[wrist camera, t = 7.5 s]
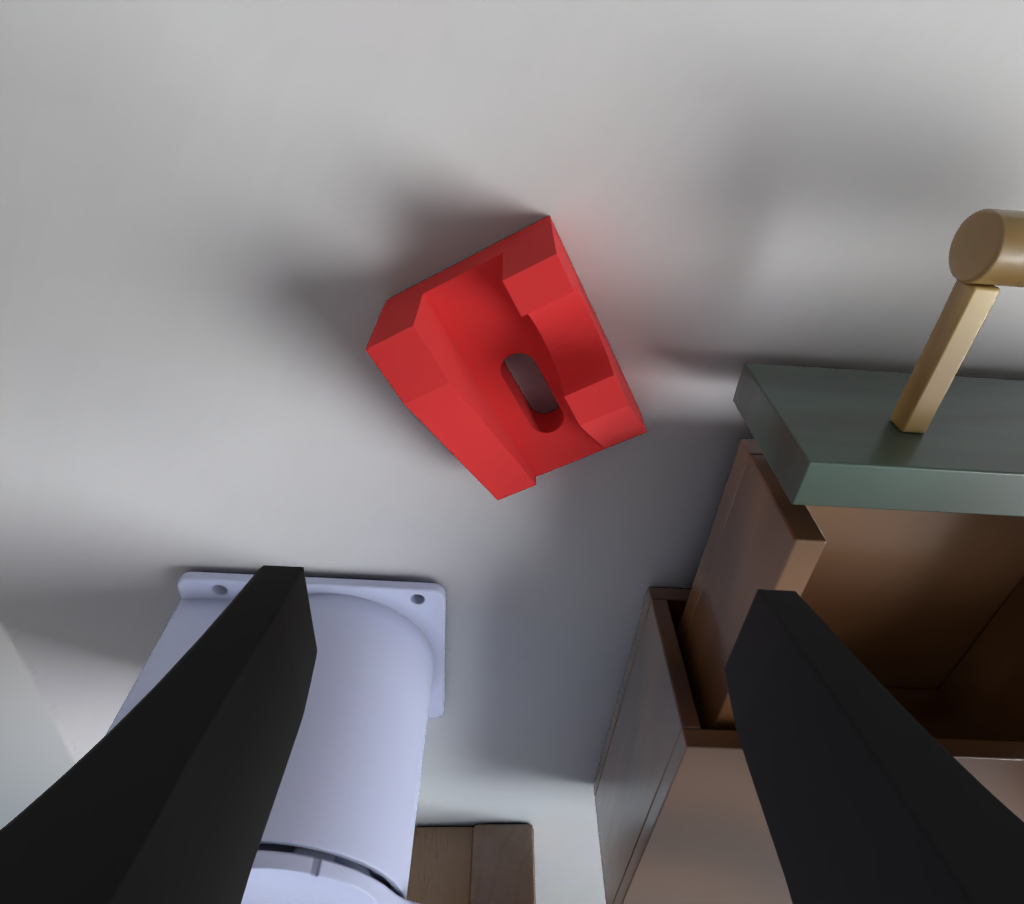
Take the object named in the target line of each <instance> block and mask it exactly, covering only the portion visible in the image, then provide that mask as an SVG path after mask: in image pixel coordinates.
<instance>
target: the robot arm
mask: <svg viewBox="0 0 1024 904" xmlns="http://www.w3.org/2000/svg"><path fill="white" fill-rule="evenodd" d="M220 585H221V586H220ZM223 586H224V587H223ZM177 587H178V590H179V593H180V596H181V599H182V600H181V601H180V603H179V604H178V606H177V608H176V610H175V612H174V613H173V615H172V617H171V619H170V621H169V622H168V624H167V626H166V628H165V630H164V631H163V633H162V635H161V637H160V639H159V640H158V642H157V644H156V646H155V648H154V649H153V651H152V653H151V655H150V656H149V658H148V660H147V662H146V664H145V665H144V667H143V669H142V671H141V673H140V674H139V676H138V678H137V680H136V682H135V683H134V685H133V687H132V689H131V691H130V692H129V694H128V696H127V698H126V700H125V701H124V703H123V705H122V707H121V709H120V710H119V712H118V714H117V716H116V718H115V719H114V721H113V723H112V725H111V727H110V728H109V730H108V732H107V734H106V736H105V737H104V738H103V739H102V740H100V741H99V742H98V743H97V744H96V745H95V746H94V747H93V748H92V749H91V750H90V751H89V752H88V753H87V754H86V755H85V756H84V757H83V758H81V759H80V760H79V761H78V762H77V763H76V764H75V765H74V766H73V767H72V768H71V769H70V770H69V771H68V772H66V774H64V775H63V776H62V777H61V778H60V779H59V780H58V781H56V782H55V783H54V784H53V785H52V786H51V787H50V788H49V789H47V790H46V791H45V792H44V793H43V794H42V795H41V796H40V797H38V798H37V799H36V800H35V801H34V802H33V803H32V804H30V805H29V806H28V807H27V808H26V809H25V810H24V811H22V812H21V813H20V814H19V815H18V816H17V817H15V818H14V819H13V820H12V821H11V822H10V823H8V824H7V825H6V826H5V827H4V828H2V829H1V830H0V904H420V903H416V902H412V901H410V900H407V891H408V882H409V874H410V865H411V856H412V847H413V838H414V830H415V821H416V812H417V804H418V795H419V787H420V778H421V770H422V761H423V752H424V744H425V735H426V727H427V719H436V718H439V717H441V716H442V715H443V713H444V699H445V631H446V591H445V589H444V588H443V587H442V586H441V585H439V584H435V583H423V582H401V581H380V580H359V579H338V578H317V577H305V574H304V567H285V566H263V567H261V568H260V569H259V570H258V571H257V572H256V573H255V574H254V575H253V574H232V573H211V572H186V573H184V574H183V575H182V576H181V578H180V580H179V581H178V583H177ZM415 594H419V595H422V596H417V595H415ZM724 671H725V676H726V681H727V687H728V692H729V697H730V703H731V707H732V712H733V716H734V721H735V726H736V730H737V734H738V737H739V740H740V743H741V747H742V750H743V753H744V756H745V759H746V762H747V765H748V768H749V771H750V774H751V777H752V780H753V784H754V787H755V790H756V792H757V795H758V798H759V801H760V804H761V807H762V810H763V813H764V816H765V819H766V822H767V825H768V828H769V831H770V834H771V837H772V840H773V843H774V846H775V849H776V852H777V855H778V858H779V861H780V864H781V867H782V870H783V873H784V876H785V879H786V883H787V886H788V889H789V893H790V896H791V900H792V903H793V904H1024V822H1023V821H1022V820H1021V819H1020V818H1019V817H1017V816H1016V815H1015V814H1014V813H1013V812H1012V811H1011V810H1009V809H1008V808H1007V807H1006V806H1005V805H1004V804H1003V803H1002V802H1001V801H1000V800H998V799H997V798H996V797H995V796H994V795H993V794H992V793H991V792H990V791H989V790H987V789H986V788H985V787H984V786H983V785H982V784H981V783H980V782H979V781H978V780H977V779H976V778H975V777H974V776H973V775H972V774H971V773H970V772H969V771H968V770H966V769H965V768H964V767H963V766H962V765H961V764H960V763H959V762H958V761H957V760H956V759H955V758H954V757H953V756H952V755H951V754H950V753H949V752H948V751H947V750H946V749H945V748H944V747H942V746H941V745H940V744H939V743H938V742H937V741H936V740H935V739H934V738H933V737H932V736H931V735H930V734H929V733H928V732H927V731H926V730H925V729H924V728H923V727H922V726H921V725H920V724H919V723H918V722H917V721H916V720H915V719H914V717H913V716H912V715H911V714H910V713H909V712H908V711H907V710H906V709H905V708H904V707H903V706H902V705H901V704H900V703H899V702H898V701H897V700H896V699H895V698H894V697H893V696H892V695H891V694H890V693H889V692H888V691H887V689H886V688H885V687H884V686H883V685H882V684H881V683H880V682H879V681H878V680H877V679H876V678H875V677H874V676H873V675H872V674H871V672H870V671H869V670H868V669H867V668H866V667H865V666H864V665H863V664H862V663H861V662H860V661H859V660H858V658H857V657H856V656H855V655H854V654H853V653H852V652H851V651H850V650H849V649H848V648H847V646H846V645H845V644H844V643H843V642H842V641H841V640H840V639H839V638H838V637H837V636H836V634H835V633H834V632H833V631H832V630H831V629H830V628H829V627H828V626H827V625H826V624H825V622H824V621H823V620H822V619H821V618H820V617H819V616H818V615H817V614H816V613H815V612H814V610H813V609H812V608H811V607H810V606H809V605H808V604H807V603H806V602H805V601H804V600H803V599H802V598H801V597H800V596H799V594H798V593H797V592H796V591H786V590H765V589H758V590H757V592H756V595H755V597H754V599H753V602H752V604H751V606H750V609H749V611H748V614H747V616H746V618H745V621H744V623H743V625H742V628H741V630H740V633H739V635H738V637H737V640H736V642H735V644H734V647H733V649H732V652H731V654H730V656H729V659H728V661H727V663H726V666H725V668H724Z"/></svg>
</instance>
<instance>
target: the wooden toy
mask: <svg viewBox="0 0 1024 904" xmlns="http://www.w3.org/2000/svg"><path fill="white" fill-rule="evenodd" d="M407 900H410V901H412V902H416V903H420V904H536V896H535V863H534V829H533V827H532V825H529V824H505V825H475V826H474V828H473V827H415V830H414V838H413V847H412V856H411V865H410V874H409V882H408V891H407Z"/></svg>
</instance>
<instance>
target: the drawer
mask: <svg viewBox="0 0 1024 904" xmlns="http://www.w3.org/2000/svg"><path fill="white" fill-rule="evenodd" d="M949 267H950V270H951V273H952V275H953V276H954V277H955V278H956V279H957V281H956V283H955V285H954V288H953V290H952V292H951V294H950V296H949V298H948V300H947V302H946V304H945V306H944V308H943V310H942V312H941V314H940V316H939V318H938V320H937V323H936V325H935V327H934V329H933V331H932V333H931V335H930V337H929V339H928V341H927V343H926V345H925V347H924V349H923V351H922V353H921V356H920V358H919V360H918V362H917V364H916V366H915V368H914V370H913V372H912V374H911V373H896V372H880V371H864V370H848V369H832V368H816V367H800V366H784V365H768V364H752V363H745V364H744V366H743V369H742V372H741V376H740V379H739V382H738V385H737V388H736V392H735V395H734V398H733V402H734V403H735V405H736V407H737V409H738V410H739V412H740V414H741V416H742V417H743V419H744V421H745V423H746V424H747V426H748V428H749V430H750V431H751V433H752V435H753V437H754V439H741V441H740V444H739V447H738V450H737V453H736V456H735V459H734V462H733V465H732V468H731V471H730V474H729V477H728V480H727V483H726V486H725V489H724V492H723V495H722V498H721V501H720V504H719V507H718V510H717V513H716V516H715V519H714V522H713V525H712V528H711V531H710V534H709V537H708V540H707V543H706V546H705V549H704V552H703V555H702V558H701V561H700V564H699V567H698V570H697V573H696V576H695V579H694V582H693V585H692V588H691V591H690V594H689V597H688V600H687V603H686V606H685V609H684V612H683V615H682V618H681V621H680V624H679V627H678V630H677V633H676V636H677V640H678V644H679V647H680V651H681V655H682V659H683V662H684V666H685V670H686V674H687V678H688V681H689V685H690V689H691V693H692V697H693V700H694V704H695V708H696V712H697V715H698V719H699V723H700V727H701V729H706V730H732V731H737V730H736V726H735V721H734V716H733V712H732V707H731V703H730V697H729V692H728V687H727V681H726V676H725V671H724V668H725V666H726V663H727V661H728V659H729V656H730V654H731V652H732V649H733V647H734V644H735V642H736V640H737V637H738V635H739V633H740V630H741V628H742V625H743V623H744V621H745V618H746V616H747V614H748V611H749V609H750V606H751V604H752V602H753V599H754V597H755V595H756V592H757V590H758V589H765V590H786V591H796V592H797V593H798V594H799V596H800V597H801V598H802V599H803V600H804V601H805V602H806V603H807V604H808V605H809V606H810V607H811V608H812V609H813V610H814V612H815V613H816V614H817V615H818V616H819V617H820V618H821V619H822V620H823V621H824V622H825V624H826V625H827V626H828V627H829V628H830V629H831V630H832V631H833V632H834V633H835V634H836V636H837V637H838V638H839V639H840V640H841V641H842V642H843V643H844V644H845V645H846V646H847V648H848V649H849V650H850V651H851V652H852V653H853V654H854V655H855V656H856V657H857V658H858V660H859V661H860V662H861V663H862V664H863V665H864V666H865V667H866V668H867V669H868V670H869V671H870V672H871V674H872V675H873V676H874V677H875V678H876V679H877V680H878V681H879V682H880V683H881V684H882V685H883V686H884V687H885V688H886V689H887V691H888V692H889V693H890V694H891V695H892V696H893V697H894V698H895V699H896V700H897V701H898V702H899V703H900V704H901V705H902V706H903V707H904V708H905V709H906V710H907V711H908V712H909V713H910V714H911V715H912V716H913V717H914V719H915V720H916V721H917V722H918V723H919V724H920V725H921V726H922V727H923V728H924V729H925V730H926V731H927V732H928V733H929V734H930V735H931V736H932V737H933V738H941V739H967V740H993V741H1019V742H1024V381H1023V380H1007V379H991V378H975V377H959V376H955V375H956V373H957V372H958V370H959V368H960V366H961V364H962V362H963V360H964V358H965V356H966V355H967V353H968V351H969V349H970V347H971V345H972V343H973V341H974V340H975V338H976V336H977V334H978V332H979V330H980V328H981V326H982V324H983V323H984V321H985V319H986V317H987V315H988V313H989V311H990V309H991V308H992V306H993V304H994V302H995V300H996V298H997V296H998V294H999V292H1000V289H999V288H998V287H996V286H994V285H998V286H1013V287H1024V211H1012V210H998V209H983V210H980V211H978V212H975V213H974V214H972V215H971V216H969V217H968V218H967V219H966V220H965V221H964V222H963V223H962V224H961V226H960V227H959V229H958V230H957V232H956V234H955V236H954V238H953V240H952V243H951V247H950V251H949Z"/></svg>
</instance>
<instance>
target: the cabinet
mask: <svg viewBox="0 0 1024 904" xmlns="http://www.w3.org/2000/svg"><path fill="white" fill-rule="evenodd" d="M690 591H691V589H677V588H656V587H649V588H648V592H647V595H646V599H645V603H644V606H643V610H642V613H641V617H640V621H639V624H638V628H637V631H636V635H635V639H634V642H633V646H632V649H631V653H630V656H629V660H628V664H627V667H626V671H625V674H624V678H623V682H622V685H621V689H620V692H619V696H618V700H617V703H616V707H615V710H614V714H613V718H612V721H611V725H610V728H609V732H608V736H607V739H606V743H605V746H604V750H603V754H602V757H601V761H600V764H599V768H598V772H597V775H596V779H595V782H594V795H595V805H596V814H597V824H598V833H599V843H600V852H601V861H602V871H603V880H604V889H605V899H606V904H793V903H792V900H791V896H790V893H789V889H788V886H787V883H786V879H785V876H784V873H783V870H782V867H781V864H780V861H779V858H778V855H777V852H776V849H775V846H774V843H773V840H772V837H771V834H770V831H769V828H768V825H767V822H766V819H765V816H764V813H763V810H762V807H761V804H760V801H759V798H758V795H757V792H756V790H755V787H754V784H753V780H752V777H751V774H750V771H749V768H748V765H747V762H746V759H745V756H744V753H743V750H742V747H741V743H740V740H739V737H738V734H737V731H732V730H706V729H701V727H700V723H699V719H698V715H697V712H696V708H695V704H694V700H693V697H692V693H691V689H690V685H689V681H688V678H687V674H686V670H685V666H684V662H683V659H682V655H681V651H680V647H679V644H678V640H677V636H676V633H677V630H678V627H679V624H680V621H681V618H682V615H683V612H684V609H685V606H686V603H687V600H688V597H689V594H690ZM934 739H935V740H936V741H937V742H938V743H939V744H940V745H941V746H942V747H944V748H945V749H946V750H947V751H948V752H949V753H950V754H951V755H952V756H953V757H954V758H955V759H956V760H957V761H958V762H959V763H960V764H961V765H962V766H963V767H964V768H965V769H966V770H968V771H969V772H970V773H971V774H972V775H973V776H974V777H975V778H976V779H977V780H978V781H979V782H980V783H981V784H982V785H983V786H984V787H985V788H986V789H987V790H989V791H990V792H991V793H992V794H993V795H994V796H995V797H996V798H997V799H998V800H1000V801H1001V802H1002V803H1003V804H1004V805H1005V806H1006V807H1007V808H1008V809H1009V810H1011V811H1012V812H1013V813H1014V814H1015V815H1016V816H1017V817H1019V818H1020V819H1021V820H1022V821H1023V822H1024V742H1019V741H993V740H967V739H941V738H934Z"/></svg>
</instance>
